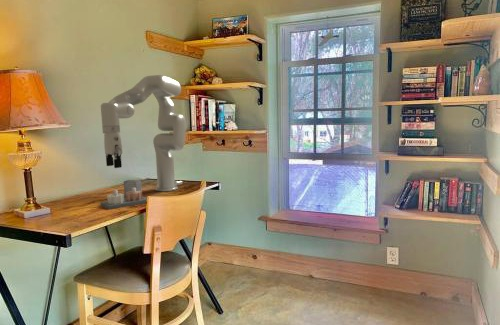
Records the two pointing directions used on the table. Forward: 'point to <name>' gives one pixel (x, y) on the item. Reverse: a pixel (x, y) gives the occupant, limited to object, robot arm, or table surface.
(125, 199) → the gear board
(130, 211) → the table surface
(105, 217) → the table surface
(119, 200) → the gear
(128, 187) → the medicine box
